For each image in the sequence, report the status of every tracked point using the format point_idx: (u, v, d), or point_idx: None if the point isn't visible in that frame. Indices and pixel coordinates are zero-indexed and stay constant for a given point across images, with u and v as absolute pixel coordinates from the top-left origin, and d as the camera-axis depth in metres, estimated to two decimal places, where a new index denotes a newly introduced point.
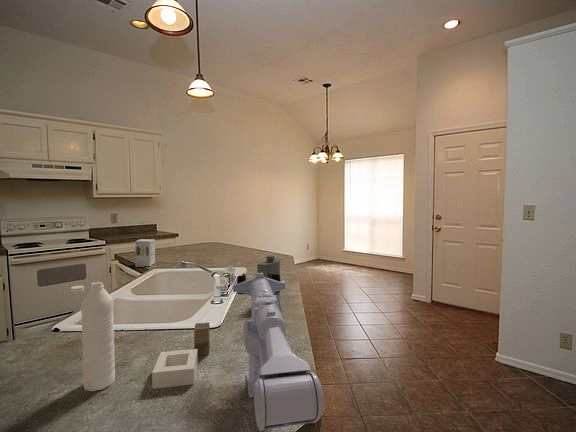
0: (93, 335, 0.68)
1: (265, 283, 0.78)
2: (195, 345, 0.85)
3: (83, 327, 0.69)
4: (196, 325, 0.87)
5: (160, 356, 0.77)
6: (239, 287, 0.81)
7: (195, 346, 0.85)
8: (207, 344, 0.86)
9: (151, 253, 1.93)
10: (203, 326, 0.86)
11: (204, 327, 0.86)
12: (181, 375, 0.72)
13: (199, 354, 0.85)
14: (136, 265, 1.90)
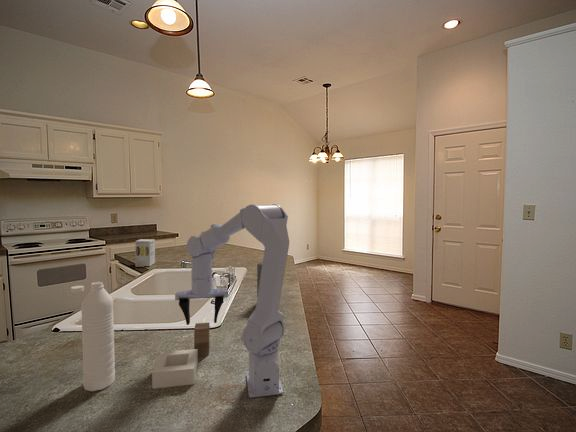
0: (93, 335, 0.68)
1: None
2: (195, 345, 0.85)
3: (83, 327, 0.69)
4: (196, 325, 0.87)
5: (160, 356, 0.77)
6: None
7: (195, 346, 0.85)
8: (207, 344, 0.86)
9: (151, 253, 1.93)
10: (203, 326, 0.86)
11: (204, 327, 0.86)
12: (181, 375, 0.72)
13: (199, 354, 0.85)
14: (136, 265, 1.90)
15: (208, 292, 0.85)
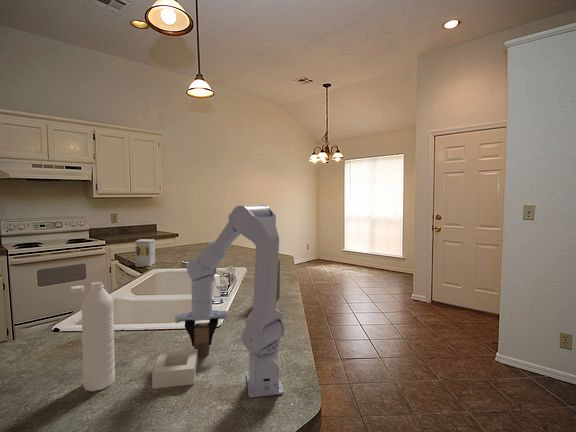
0: (93, 335, 0.68)
1: None
2: (195, 345, 0.85)
3: (83, 327, 0.69)
4: (196, 325, 0.87)
5: (160, 356, 0.77)
6: None
7: (195, 346, 0.85)
8: (207, 344, 0.86)
9: (151, 253, 1.93)
10: (203, 326, 0.86)
11: (204, 327, 0.86)
12: (181, 375, 0.72)
13: (199, 354, 0.85)
14: (136, 265, 1.90)
15: (208, 314, 0.85)
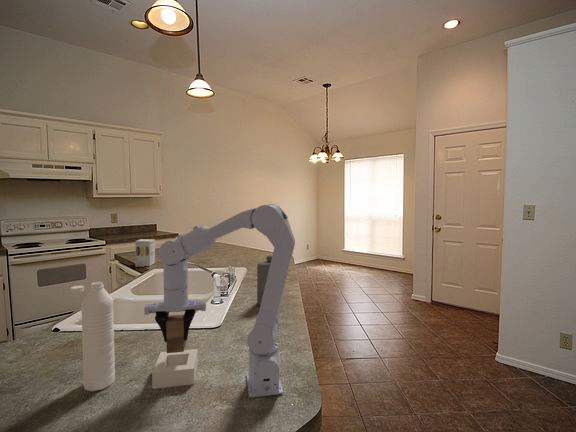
0: (93, 335, 0.68)
1: None
2: (167, 340, 0.73)
3: (83, 327, 0.69)
4: (169, 317, 0.75)
5: (160, 356, 0.77)
6: None
7: (168, 341, 0.73)
8: (182, 339, 0.74)
9: (151, 253, 1.93)
10: (177, 318, 0.75)
11: (178, 319, 0.74)
12: (181, 375, 0.72)
13: (172, 351, 0.74)
14: (136, 265, 1.90)
15: (183, 305, 0.73)
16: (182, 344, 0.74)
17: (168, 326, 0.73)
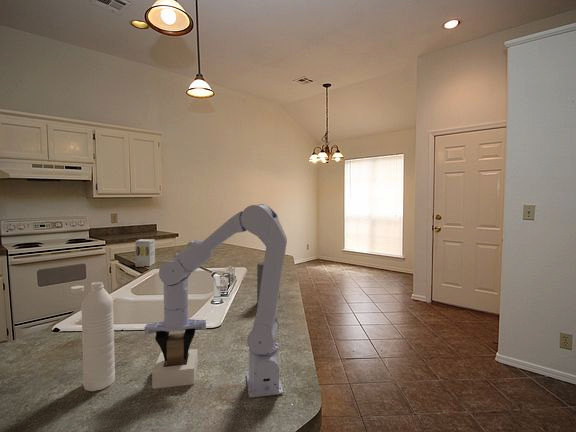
0: (93, 335, 0.68)
1: None
2: (167, 359, 0.74)
3: (83, 327, 0.69)
4: (170, 336, 0.76)
5: (160, 356, 0.77)
6: None
7: (168, 361, 0.74)
8: (182, 358, 0.74)
9: (151, 253, 1.93)
10: (177, 338, 0.75)
11: (178, 339, 0.74)
12: (181, 375, 0.72)
13: None
14: (136, 265, 1.90)
15: (183, 324, 0.74)
16: (182, 363, 0.74)
17: (168, 346, 0.73)
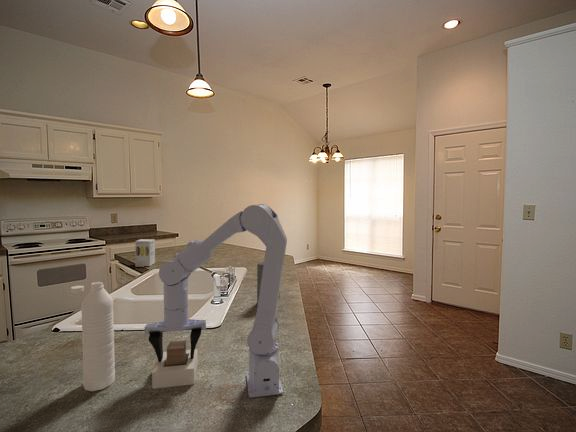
0: (93, 335, 0.68)
1: None
2: None
3: (83, 327, 0.69)
4: (170, 344, 0.76)
5: None
6: None
7: None
8: None
9: (151, 253, 1.93)
10: (177, 345, 0.75)
11: (179, 346, 0.75)
12: (181, 375, 0.72)
13: None
14: (136, 265, 1.90)
15: (183, 324, 0.74)
16: None
17: (168, 353, 0.73)
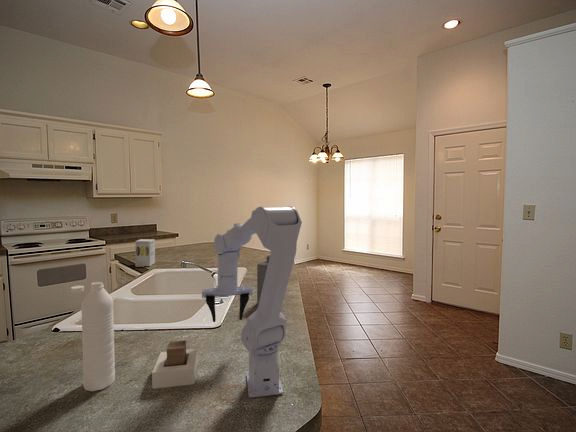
0: (93, 335, 0.68)
1: None
2: None
3: (83, 327, 0.69)
4: (170, 344, 0.76)
5: (160, 356, 0.77)
6: None
7: None
8: None
9: (151, 253, 1.93)
10: (177, 345, 0.75)
11: (179, 346, 0.75)
12: (181, 375, 0.72)
13: None
14: (136, 265, 1.90)
15: (234, 289, 0.86)
16: None
17: (168, 353, 0.73)
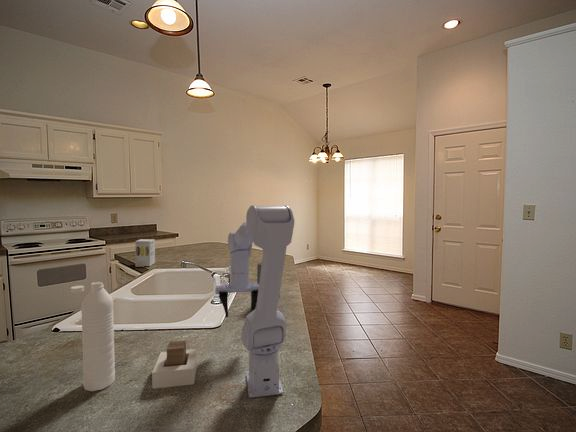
0: (93, 335, 0.68)
1: None
2: None
3: (83, 327, 0.69)
4: (170, 344, 0.76)
5: (160, 356, 0.77)
6: None
7: None
8: None
9: (151, 253, 1.93)
10: (177, 345, 0.75)
11: (178, 346, 0.75)
12: (181, 375, 0.72)
13: None
14: (136, 265, 1.90)
15: (246, 286, 0.89)
16: None
17: (168, 353, 0.73)
